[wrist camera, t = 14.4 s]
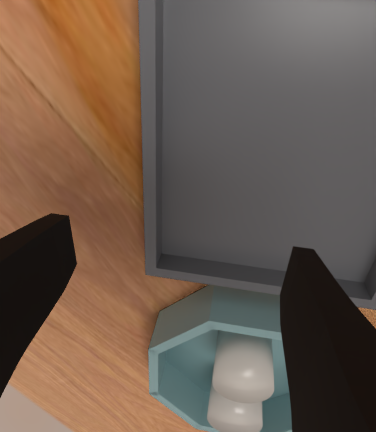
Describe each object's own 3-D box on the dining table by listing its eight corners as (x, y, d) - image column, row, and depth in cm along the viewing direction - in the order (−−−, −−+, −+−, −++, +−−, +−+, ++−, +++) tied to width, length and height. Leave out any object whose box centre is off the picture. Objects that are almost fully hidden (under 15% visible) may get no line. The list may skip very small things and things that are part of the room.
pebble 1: (269, 316, 24) (272, 367, 21) (273, 353, 26) (276, 405, 23) (214, 317, 25) (207, 365, 22) (221, 352, 27) (216, 401, 24)
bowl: (354, 302, 23) (369, 346, 20) (307, 408, 30) (312, 452, 27) (159, 273, 24) (147, 310, 22) (159, 381, 32) (149, 419, 29)
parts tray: (514, -22, 13) (552, -25, 11) (370, 286, 22) (379, 310, 20) (150, -39, 15) (137, -44, 13) (153, 255, 24) (145, 274, 22)
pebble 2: (255, 354, 27) (255, 405, 23) (266, 385, 28) (268, 436, 25) (206, 357, 28) (200, 406, 25) (220, 387, 30) (215, 436, 26)
